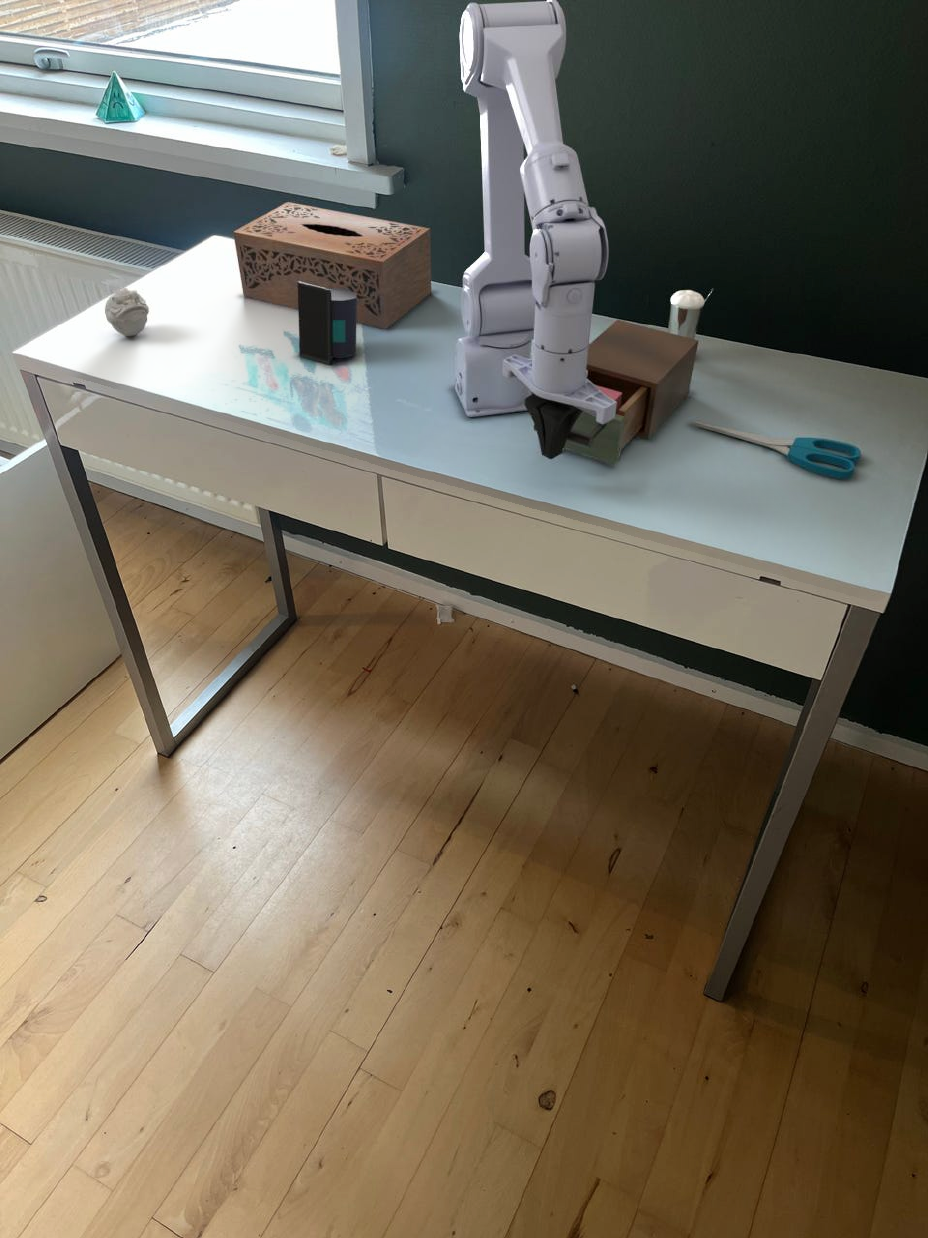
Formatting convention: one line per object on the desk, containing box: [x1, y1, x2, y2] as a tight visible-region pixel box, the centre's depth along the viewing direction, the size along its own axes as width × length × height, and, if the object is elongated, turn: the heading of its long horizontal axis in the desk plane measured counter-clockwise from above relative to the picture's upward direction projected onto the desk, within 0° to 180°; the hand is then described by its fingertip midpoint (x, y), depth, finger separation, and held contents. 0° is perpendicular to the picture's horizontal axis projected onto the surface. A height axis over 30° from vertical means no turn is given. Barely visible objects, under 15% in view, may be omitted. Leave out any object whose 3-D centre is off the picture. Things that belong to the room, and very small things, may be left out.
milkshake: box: [667, 288, 714, 339], centre depth 127 cm, size 4×5×10 cm
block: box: [595, 385, 622, 415], centre depth 112 cm, size 4×4×4 cm
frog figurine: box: [104, 287, 150, 337], centre depth 133 cm, size 6×7×7 cm
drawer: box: [533, 369, 651, 465], centre depth 111 cm, size 17×10×6 cm, turn 148°
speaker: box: [297, 281, 357, 366], centre depth 127 cm, size 8×6×10 cm
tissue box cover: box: [232, 201, 432, 330], centre depth 142 cm, size 26×14×10 cm, turn 64°
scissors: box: [693, 421, 862, 480], centre depth 113 cm, size 7×1×20 cm
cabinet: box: [586, 319, 699, 440], centre depth 118 cm, size 13×11×8 cm
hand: (552, 453), depth 104 cm, fingers closed
